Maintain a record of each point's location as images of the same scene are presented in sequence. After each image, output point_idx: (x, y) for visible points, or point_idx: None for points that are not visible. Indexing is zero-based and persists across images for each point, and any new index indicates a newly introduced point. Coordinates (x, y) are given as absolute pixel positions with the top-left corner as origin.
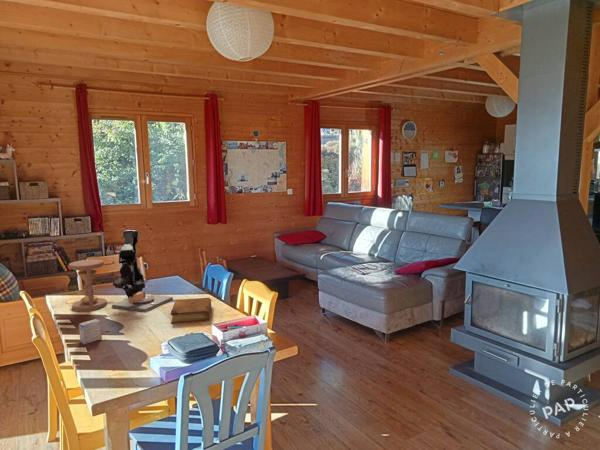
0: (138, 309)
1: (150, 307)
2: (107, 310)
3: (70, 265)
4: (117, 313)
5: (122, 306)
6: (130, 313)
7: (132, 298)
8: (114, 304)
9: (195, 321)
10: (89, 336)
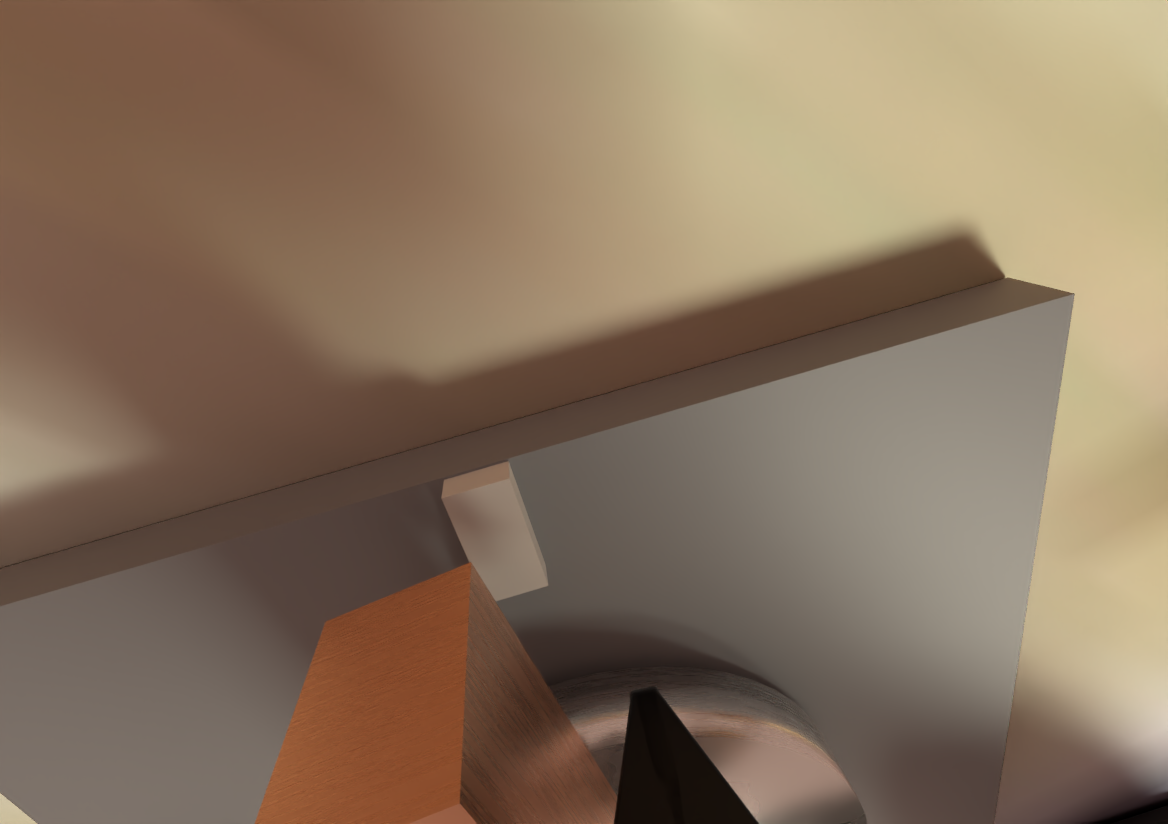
0: (123, 552)
1: (5, 770)
2: (953, 28)
3: None
4: (405, 20)
5: (691, 401)
6: (66, 284)
7: (261, 815)
8: (1021, 351)
9: None
10: None
